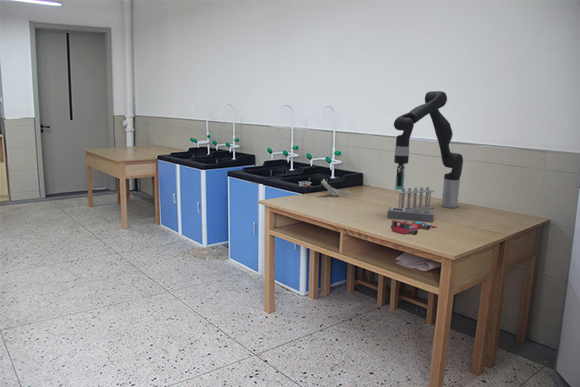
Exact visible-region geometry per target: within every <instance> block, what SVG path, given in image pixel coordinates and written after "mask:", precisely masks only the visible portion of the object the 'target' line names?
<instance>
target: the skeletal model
mask: <svg viewBox="0 0 580 387" xmlns="http://www.w3.org/2000/svg"><path fill="white" fill-rule="evenodd" d="M320 182H321V185H323V187H324V188H325V189H327V192H328V194H330V195H332V196H335V197H338V196H341V197H345V196H348V195H350V194H351V195H353V196H354V197H356V194H354V193H352V192H350V191H348V190H343V189H336V188H334V187H332V186H331V185H330V184H328V182H327V180H326V179H325V178H323V179H322V180H321V181H320ZM338 193H340V194H338Z"/></svg>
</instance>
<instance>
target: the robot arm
mask: <svg viewBox="0 0 580 387" xmlns="http://www.w3.org/2000/svg"><path fill="white" fill-rule="evenodd" d="M447 96H448V95H447V94H446V92H444V91H440V90H439V91H437V90H434V91H428V92H426V94H425V96H424V103H423V104H420V105H418V106H416V107H414V108H413V109H412V110H410V111H409V112H407V113H404V114H402V115H399V116H397V118H395V120H394V122H393V127H394V129H395V130H397V131H402V133H401V134H399V135H397V136H396V139H395V148H394V158H393V159H394V161H393V162H394V163H395V164H398V165H397V166H396V175H397V179H398V180H397V186H401V183H402V175H404V176H405V169H406V167H405V164H406V165H407V164H408V163H409V160H410V159H409V158H410V139H411V137H412V136H411V135H412V133H413V129H414V126H415V125H414V124H417V123H418V122H419V121H421V120H422V119H424V117H426V116H428V115H429V116H430V118H431V122H432V125H433V128H434V132H435V135H436V139H437V142H438V146H439V150H440V157H441V162H442V164H443V166H444V167H445V168H448V169H449V168H450V169H451V171H450V172H448V173H445V174H444V175H443V187H442V188H443V189H442V199H441V207H444V208H448V209H456V208H458V202H459V194H460V192H459V191H460V182H461V176H462V170H463V164H464V158H463V157H464V156H463V155H462V154H461V153H457V152H451V149H450V144H451V141H452V139H453V130H452V126H451V123H450V122H449V121H448V120H447V118H446V117H445V116H444V115H443V114H442V113H441V111H440V110H439V109H441V108H443V107H445V105H446V104H447V101H448V97H447ZM399 175H401V177H399Z"/></svg>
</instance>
